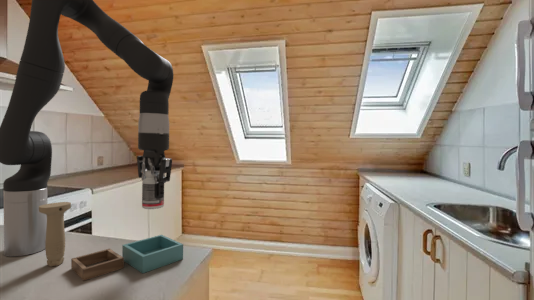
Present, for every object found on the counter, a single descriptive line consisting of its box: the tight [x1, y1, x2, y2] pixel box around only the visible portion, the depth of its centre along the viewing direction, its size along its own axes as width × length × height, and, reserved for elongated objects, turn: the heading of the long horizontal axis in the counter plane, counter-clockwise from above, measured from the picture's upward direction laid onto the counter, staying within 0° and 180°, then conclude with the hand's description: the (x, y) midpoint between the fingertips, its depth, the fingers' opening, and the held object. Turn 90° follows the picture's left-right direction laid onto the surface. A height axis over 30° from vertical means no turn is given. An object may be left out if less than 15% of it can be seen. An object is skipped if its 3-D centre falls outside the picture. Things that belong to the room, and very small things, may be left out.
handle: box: [39, 201, 72, 267], centre depth 70 cm, size 5×6×15 cm
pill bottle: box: [141, 170, 165, 210], centre depth 73 cm, size 5×5×10 cm
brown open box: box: [70, 248, 125, 282], centre depth 68 cm, size 9×9×2 cm
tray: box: [121, 234, 184, 274], centre depth 74 cm, size 11×11×4 cm
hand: (153, 196), depth 73 cm, fingers closed on pill bottle, 5 cm apart
